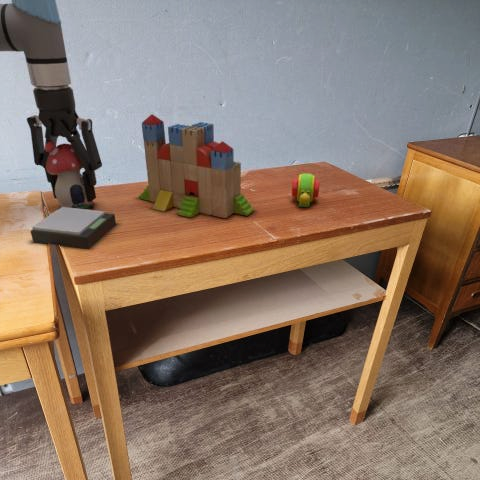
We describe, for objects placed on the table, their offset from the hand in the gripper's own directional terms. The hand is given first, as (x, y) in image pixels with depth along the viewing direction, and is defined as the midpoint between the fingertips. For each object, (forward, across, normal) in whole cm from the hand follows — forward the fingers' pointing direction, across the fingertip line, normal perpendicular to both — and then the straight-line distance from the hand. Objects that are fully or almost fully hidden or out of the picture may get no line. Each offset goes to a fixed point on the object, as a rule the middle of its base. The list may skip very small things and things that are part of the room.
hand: (75, 198), depth 101 cm
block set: (+2, -26, -8) cm, 27 cm away
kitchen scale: (+2, -7, +13) cm, 15 cm away
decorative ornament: (+2, 0, 0) cm, 2 cm away
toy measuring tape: (+2, -51, -21) cm, 55 cm away
